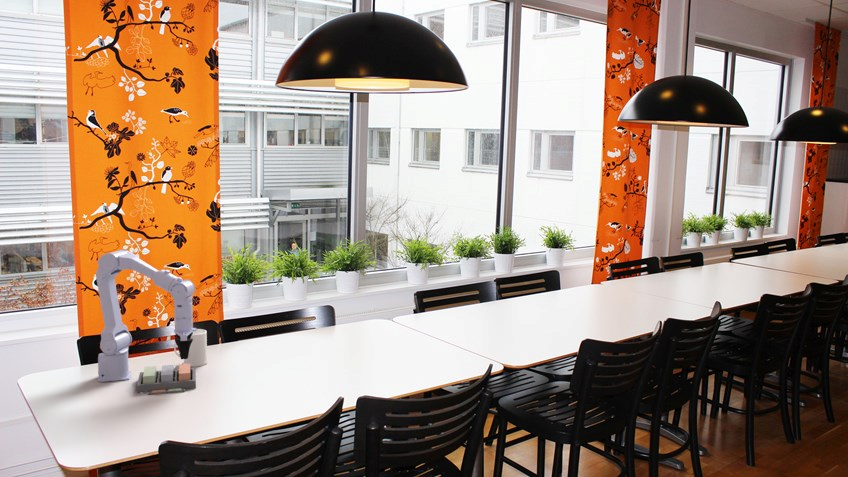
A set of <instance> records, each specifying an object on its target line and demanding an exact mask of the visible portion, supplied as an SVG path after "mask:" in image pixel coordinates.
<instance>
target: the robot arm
mask: <svg viewBox="0 0 848 477" xmlns="http://www.w3.org/2000/svg"><path fill="white" fill-rule="evenodd" d="M97 265H98V267H97V270H96V273H95V279H96V283H97V284H96V285H97V289H98V290H97V291H98V295H99V301H100V307H101V312H102V317H103V318H102V319H103V323H104V327H103V330H102V331H101V332H100V333H101V334H100V337H101V339H100V342H99V344H100V346H99V347H100V349H101V350H100V351H102V352H101V353H98V357H97V361H98V362H97V367H98V368H97V369H98V370H97V371H98V372H97V374H98V382H99V383H100V382H101V383H102V382H115V381H116V382H117V381H127V380H130V377H131V373H132V371H130V369H129V350H130V348H129V347H130V345H131V344H132V342H133V337H132V335H131V332H129V329H128V328H129V327H128V326H127V325H126V324H124V323H123V320H122V313H121V309H120V302H119V296H118V291H117V286H116V277H117V276H119V274H120V273H121V272H122V271H124V270H133V271H135V272H136V273H139V274H141V275H143V276H145V277H147V278H149V279H151V280H152V281H153V282H152V283H153V284H154V285H155V286H157V288H161V289H163V290H164V291H166V292H168V293H169V294H170V296H171V298H173V302H174V303H173V305H174V329H173V330H174V332H173V333H174V334H175V336H176V338H174V342H175V343H176V344H177V345H176V347H177V348H178V352H179V353H178V354H180V357H179V358H180V360H184V359H188V355H189V349H190V345H191V343H192V341H193V338H192V339H190V338H191V336H192V334H193V332H194V331H196V329H197V327H194V324H193V323H194V321H193V320H194V319H193V318H194V317H193V316H194V315H193V314H194V313H193V311H194V310H193V295H194V294H195V293H196V292H195V291H196V286H195V283H194V282H192V281H191V280H190V279H183V278H182V277H181V276H179V277H178V276H176V275H175V274H173V273H171V270H169V269H161V270H159V269H157V268H155V267H153V266H152V265H150V264H149V263H147V262H146V261H144V260H142V259H141V258H139V257H138V256H137V255H136V254H135V253H133V252H131V251H129V250H127V249H119V250H116V251H111V252H107V253H104V254H102V256H101V257H100V258H98V260H97ZM175 343H174V344H175Z"/></svg>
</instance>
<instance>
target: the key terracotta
mask: <svg viewBox="0 0 848 477" xmlns="http://www.w3.org/2000/svg"><path fill="white" fill-rule="evenodd" d="M190 368H191V367H190V364H183V363H180V364H178V369H179V378H178V381H186V380H191V377H190Z"/></svg>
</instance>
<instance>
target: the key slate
mask: <svg viewBox="0 0 848 477" xmlns="http://www.w3.org/2000/svg"><path fill="white" fill-rule="evenodd" d="M173 370H174V364H167V365H162V366H161V370H160V371H161V379H160V383H161V382H174V378H173V375H174V372H173Z"/></svg>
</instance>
